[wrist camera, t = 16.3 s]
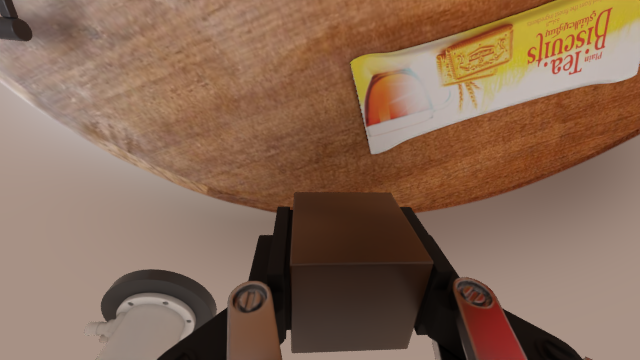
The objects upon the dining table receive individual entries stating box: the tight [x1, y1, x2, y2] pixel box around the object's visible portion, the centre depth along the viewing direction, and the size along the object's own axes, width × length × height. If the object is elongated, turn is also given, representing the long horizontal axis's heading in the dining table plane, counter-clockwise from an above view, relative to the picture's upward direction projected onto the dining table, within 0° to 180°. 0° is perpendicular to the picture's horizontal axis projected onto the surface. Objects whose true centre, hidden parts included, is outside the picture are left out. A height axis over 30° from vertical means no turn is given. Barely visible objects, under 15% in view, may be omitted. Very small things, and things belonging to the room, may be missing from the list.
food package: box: [350, 0, 640, 154], centre depth 25 cm, size 27×2×10 cm
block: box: [290, 192, 433, 353], centre depth 11 cm, size 4×4×4 cm
